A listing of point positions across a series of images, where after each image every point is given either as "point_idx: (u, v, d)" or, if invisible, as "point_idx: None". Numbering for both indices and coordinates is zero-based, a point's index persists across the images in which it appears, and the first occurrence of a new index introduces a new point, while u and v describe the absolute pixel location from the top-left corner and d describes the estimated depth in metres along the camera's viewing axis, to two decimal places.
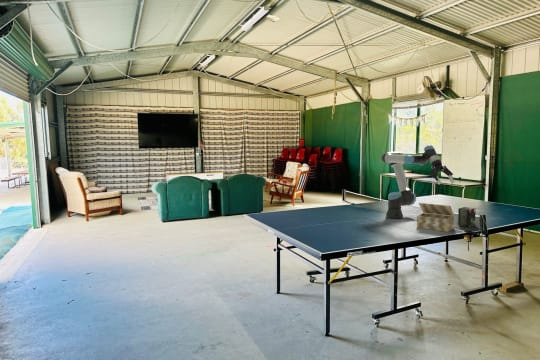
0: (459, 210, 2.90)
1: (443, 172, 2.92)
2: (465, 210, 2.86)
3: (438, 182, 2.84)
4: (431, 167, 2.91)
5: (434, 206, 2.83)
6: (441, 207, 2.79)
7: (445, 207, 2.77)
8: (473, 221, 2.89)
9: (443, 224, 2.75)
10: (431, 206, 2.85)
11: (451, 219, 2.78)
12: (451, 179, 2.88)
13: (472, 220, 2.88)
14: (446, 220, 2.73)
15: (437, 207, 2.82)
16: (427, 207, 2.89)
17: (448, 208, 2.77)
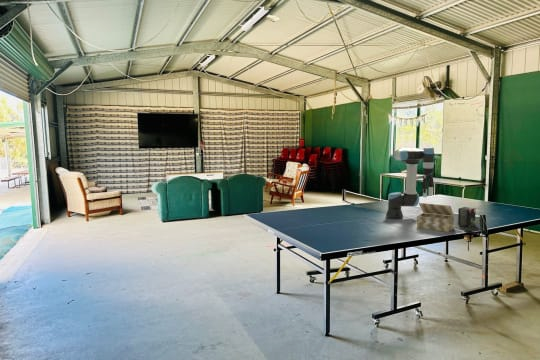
0: (459, 210, 2.90)
1: (428, 181, 2.72)
2: (465, 210, 2.86)
3: (424, 195, 2.66)
4: (424, 176, 2.64)
5: (434, 206, 2.83)
6: (441, 207, 2.79)
7: (445, 207, 2.77)
8: (473, 221, 2.89)
9: (443, 224, 2.75)
10: (431, 206, 2.85)
11: (451, 219, 2.78)
12: (430, 191, 2.74)
13: (472, 220, 2.88)
14: (446, 220, 2.73)
15: (437, 207, 2.82)
16: (427, 207, 2.89)
17: (448, 208, 2.77)
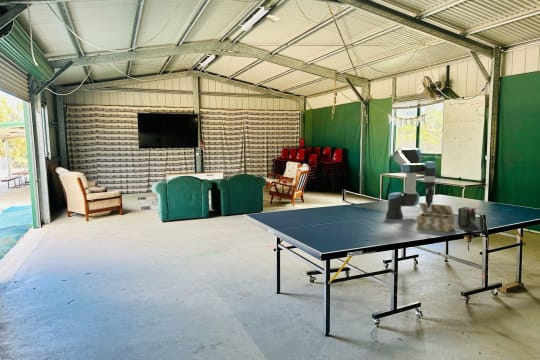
0: (459, 210, 2.90)
1: None
2: (465, 210, 2.86)
3: (428, 209, 2.74)
4: (426, 192, 2.69)
5: (434, 206, 2.83)
6: (441, 207, 2.79)
7: (445, 207, 2.77)
8: (473, 221, 2.89)
9: (443, 224, 2.75)
10: (431, 206, 2.85)
11: (451, 219, 2.78)
12: None
13: (472, 220, 2.88)
14: (446, 220, 2.73)
15: (437, 207, 2.82)
16: None
17: (448, 208, 2.77)
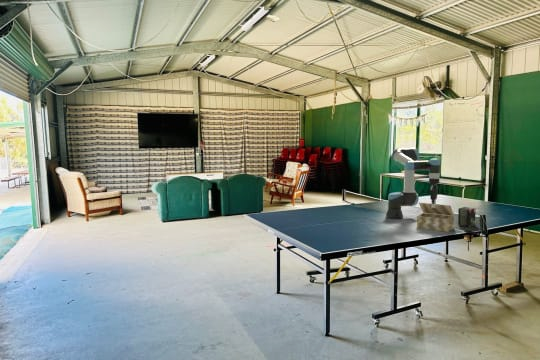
0: (459, 210, 2.90)
1: None
2: (465, 210, 2.86)
3: (432, 205, 2.81)
4: (430, 188, 2.76)
5: None
6: (441, 207, 2.79)
7: (445, 207, 2.77)
8: (473, 221, 2.89)
9: (443, 224, 2.75)
10: None
11: (451, 219, 2.78)
12: None
13: (472, 220, 2.88)
14: (446, 220, 2.73)
15: (437, 207, 2.82)
16: (427, 207, 2.89)
17: (448, 208, 2.77)
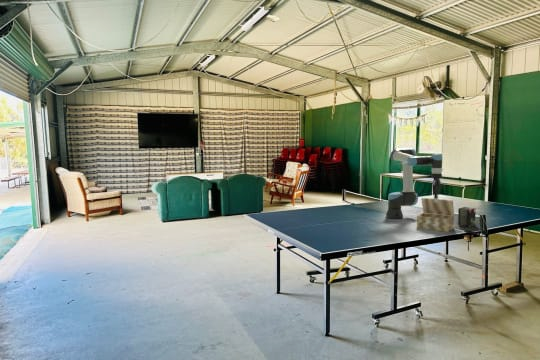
0: (459, 210, 2.90)
1: None
2: (465, 210, 2.86)
3: (435, 200, 2.85)
4: (433, 183, 2.79)
5: None
6: (443, 202, 2.82)
7: (447, 202, 2.80)
8: (473, 221, 2.89)
9: (443, 224, 2.75)
10: (433, 201, 2.88)
11: (451, 219, 2.78)
12: None
13: (472, 220, 2.88)
14: (446, 220, 2.73)
15: (439, 202, 2.85)
16: (429, 203, 2.91)
17: (450, 204, 2.80)
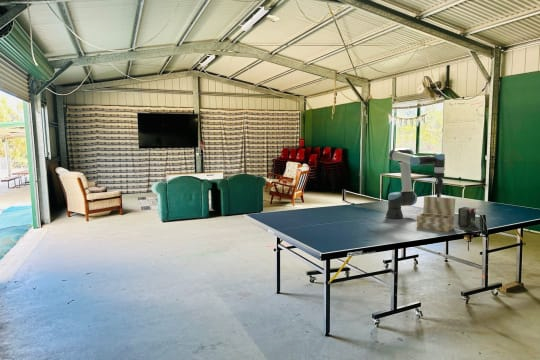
0: (459, 210, 2.90)
1: None
2: (465, 210, 2.86)
3: (438, 199, 2.89)
4: (436, 182, 2.83)
5: None
6: (445, 200, 2.86)
7: (449, 200, 2.84)
8: (473, 221, 2.89)
9: (443, 224, 2.75)
10: (435, 199, 2.91)
11: (451, 219, 2.78)
12: None
13: (472, 220, 2.88)
14: (446, 220, 2.73)
15: (441, 201, 2.88)
16: (431, 202, 2.94)
17: (452, 202, 2.83)
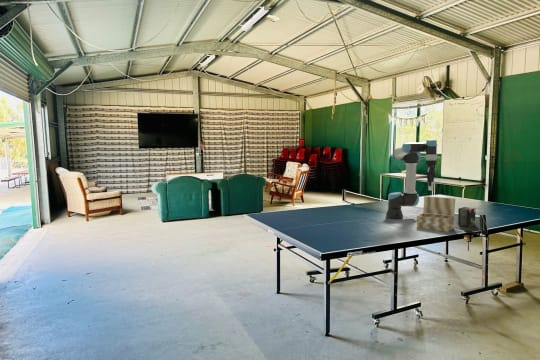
0: (459, 210, 2.90)
1: None
2: (465, 210, 2.86)
3: (429, 188, 2.74)
4: (427, 170, 2.69)
5: (439, 199, 2.90)
6: (445, 200, 2.86)
7: (449, 200, 2.84)
8: (473, 221, 2.89)
9: (443, 224, 2.75)
10: (435, 199, 2.91)
11: (451, 219, 2.78)
12: None
13: (472, 220, 2.88)
14: (446, 220, 2.73)
15: (441, 201, 2.88)
16: (431, 202, 2.94)
17: (452, 202, 2.83)
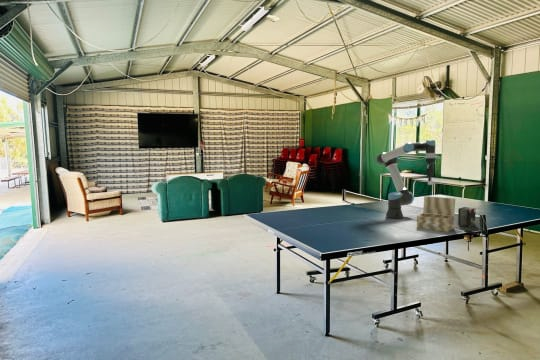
0: (459, 210, 2.90)
1: None
2: (465, 210, 2.86)
3: (429, 183, 3.09)
4: (427, 167, 3.03)
5: (439, 199, 2.90)
6: (445, 200, 2.86)
7: (449, 200, 2.84)
8: (473, 221, 2.89)
9: (443, 224, 2.75)
10: (435, 199, 2.91)
11: (451, 219, 2.78)
12: None
13: (472, 220, 2.88)
14: (446, 220, 2.73)
15: (441, 201, 2.88)
16: (431, 202, 2.94)
17: (452, 202, 2.83)
